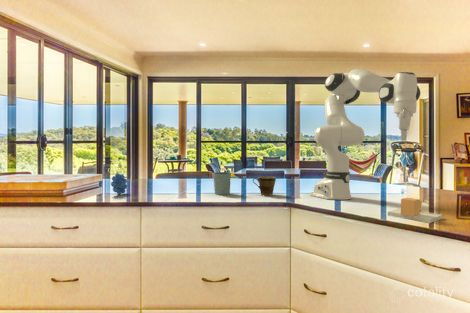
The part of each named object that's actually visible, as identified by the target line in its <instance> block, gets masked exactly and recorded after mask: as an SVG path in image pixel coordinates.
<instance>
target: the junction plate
mask: <svg viewBox="0 0 470 313" xmlns="http://www.w3.org/2000/svg"><path fill="white" fill-rule="evenodd" d="M422 204H423V202H422V200H420V215H417V216H414V217H413V216H408V215H403V214H401V207H399V208H395V209H392V210H388V211H387V216H390V217H395V218H396V217H397V218H402V219H406V220H412V221H416V222H417V221H418V222H422V223H427V224H431V223H434V222H436V221H439V220H442V219H443V214H439V213H434V212H428V211H422V208H423V207H422Z"/></svg>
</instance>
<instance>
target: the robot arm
mask: <svg viewBox="0 0 470 313" xmlns="http://www.w3.org/2000/svg"><path fill="white" fill-rule="evenodd" d="M418 85H419V84H418V78H417V75H416V73H415V72H413V71H411V72H410V71H409V72H408V71H407V72H406V71H401V72H397V73H396V74H395V76H394V77H393V79H389V78H386V77H383V76H381V75H379V74H376V73H374V72H371V71H369V70H367V69H364V68H353V69H352V70H350V71H349V72H348V74H345V73H344V72H340V73H338V72H336V73H331V74H330V75H328V76H327V78H326V79H325V82H324V88H325V89H326V90H327V91H328V92H330V93H331V95H329V96H327V97H326V99H325V101H324V114H325V115H324V116H325V123H326V124H327V125H321V126H318V127H317V128H316V129H315V131H314V136H313V137H314V141H315V142H316V144H318V145H319V146H320V147H321V148H322V150H324V152H325V154H326V159H327V170H326V171H324V172H323V175H324V177H323V178H322V179H321V180H319V181H318V182H317V183H315V184H314V187H313V192H309V194H308V195H309V196H311V197H317V198H319V199H326V200H341V201H343V200H351V199H352V194H351V190H350V188H351V187H350V181H351V180H350V179H351V172H350V157H349V156H348V155H347V153H345V152H342V151H340V150H339V147H341V146H342V147H351V146H359V145H361V144H362V143H363V142H364V140H365V137H366V136H365V130H364V129H363V127H361V126H359V125H357V124H356V123H354V122H352V121H351V120H350V119H349V118H348V116H347V113H346V109H345V105H349V104H351V103H353V102H356V100H357V99H359V97H360V94H361V92H362V93H378V98H379V100H380V102H381V103H384V104H388V105H389V104H390V105H391V104H392V105H393V114H396V117H397V118H398V128H399V130H400V137H401V138H400V140H401V141H407V134H408V131H409V129H410V126H411V119H412V117H413V116H414V115H413V114H416V113H417V105H418V104H417V102H418V100H419V99H420V97H421V89H420V87H419V86H418Z"/></svg>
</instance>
